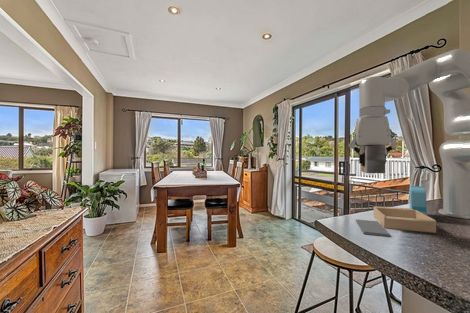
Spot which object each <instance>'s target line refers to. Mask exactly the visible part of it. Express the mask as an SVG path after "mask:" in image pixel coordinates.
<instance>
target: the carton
mask: <svg viewBox="0 0 470 313" xmlns="http://www.w3.org/2000/svg"><path fill="white" fill-rule="evenodd" d="M373 218H374V219H375V221H377V222H378V223H379V224H380V225H381V226H382V227H383V228H384V229H392V230H394V229H395V230H401V231H413V232H423V233H435V234H437V223H438V221H437V220H436V219H434V218H432V217H431V216H428V214H427V215H425V214H423V213H421V212H419V211H417V210H414V209H410V207H409V208H408V207H407V208H406V207H405V208H404V207H393V206H392V207H390V206H389V207H388V206H377V205H374V207H373Z"/></svg>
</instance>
